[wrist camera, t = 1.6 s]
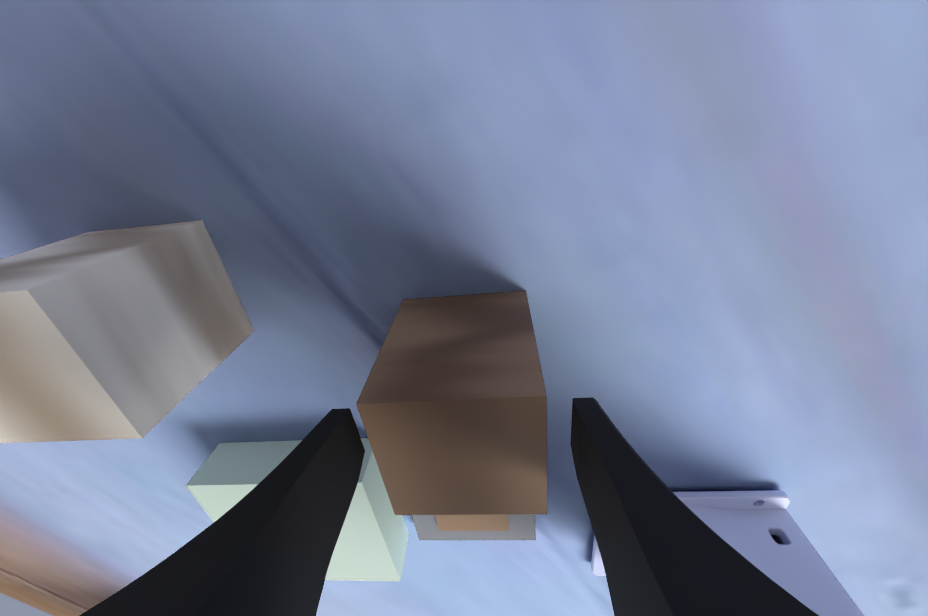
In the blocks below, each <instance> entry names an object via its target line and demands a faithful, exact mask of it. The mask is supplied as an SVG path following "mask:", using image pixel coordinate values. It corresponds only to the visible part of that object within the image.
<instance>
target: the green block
mask: <svg viewBox="0 0 928 616" xmlns="http://www.w3.org/2000/svg"><path fill="white" fill-rule="evenodd" d="M301 441H302V440H293V441H264V442H235V443H219V445H218V446H217V447H216V448H215V450H214V451H213V452H212V453H211V455H210V456H209V457H208V458H207V460H206V461H205V462H204V463H203V465H202V466H201V467H200V468H199V470H198V471H197V472H196V473H195V475H194V476H193V477H192V478H191V480H190V481H189V482H188V483H187V485H186V487H187V488H188V489H189V491H190V492H191V493H192V495H193V496H194V497H195V499H196V500H197V501H198V502H199V504H200V505H201V506H202V508H203V509H204V510H205V512H206V513H207V514H208V516H209V517H210V518H211V520H212V521H213V522H215V521H217V520H218V519H219V518H220V517H221V516H223V515H224V514H225V513H226V512H227V511H229V510H230V509H231V508H232V507H233V506H234V505H236V504H237V503H238V502H239V501H240V500H241V499H243V498H244V497H245V496H246V495H247V494H248V493H249V492H250V491H251V490H253V489H254V488H255V487H256V486H257V485H258V484H259V483H260V482H261V481H262V480H263V479H264V478H265V477H266V476H267V475H268V474H269V473H270V472H271V471H272V470H273V469H275V468H276V467H277V466H278V465H279V464H280V463H281V462H282V461H283V460H284V459H285V458H286V457H287V456H288V455H289V454H290V453H291V452H292V451H293V449H294V448H295V447H296V446H297V445H298V444H299V443H300V442H301ZM361 441H362V443H363V446H364V449H365V454H364V458H363V463H362V468H361V472H360V476H359V480H358V484H357V487H356V490H355V492H354V495H353V498H352V501H351V504H350V507H349V510H348V512H347V515H346V518H345V521H344V523H343V526H342V529H341V532H340V535H339V537H338V540H337V543H336V546H335V549H334V551H333V554H332V557H331V560H330V564H329V567H328V570H327V573H326V577H325V580H341V581H401V576H402V570H403V565H404V560H405V554H406V549H407V544H408V538H409V533H408V530H407V527H406V524H405V521H404V518H403V515H395V514H394V511H393V508H392V505H391V502H390V500H389V497H388V494H387V491H386V488H385V485H384V482H383V479H382V477H381V474H380V471H379V468H378V465H377V462H376V459H375V456H374V454H373V451H372V448H371V445H370V442H369V439H368V438H361Z"/></svg>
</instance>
